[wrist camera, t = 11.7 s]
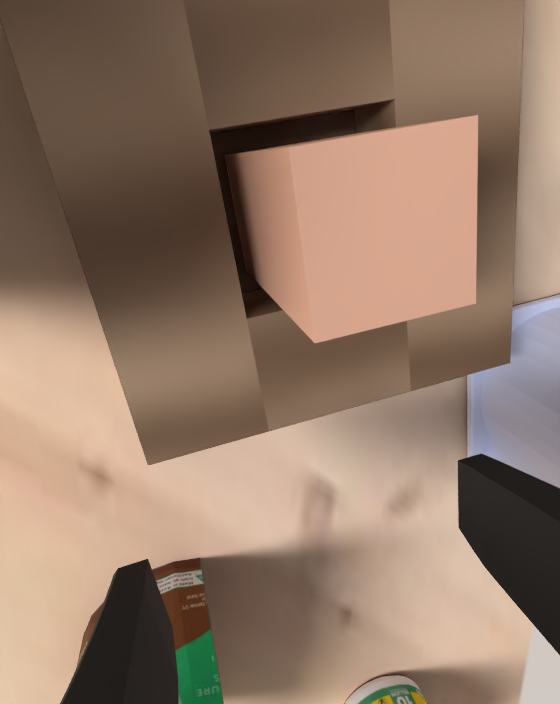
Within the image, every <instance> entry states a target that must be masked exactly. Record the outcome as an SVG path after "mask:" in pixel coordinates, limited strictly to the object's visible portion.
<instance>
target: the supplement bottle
mask: <svg viewBox="0 0 560 704" xmlns="http://www.w3.org/2000/svg"><path fill="white" fill-rule="evenodd" d="M345 704H428V703H427V702H426V700H425V698H424V696H423V694H422V692H421V690H420V688H419V687H418V686H417V684H416V683H415V682H414V681H412V680H411V679H409V678H407V677H404V676H399V675H394V676H384V677H379V678H376V679H374V680H372V681H370V682H368V683H366V684H364V685H363V686H361V687H360V688H358V689H357V690H356V691H355V692H354V693H353V694H352V695H351V696H350V697H349V698H348V699H347V701H346V702H345Z"/></svg>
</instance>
